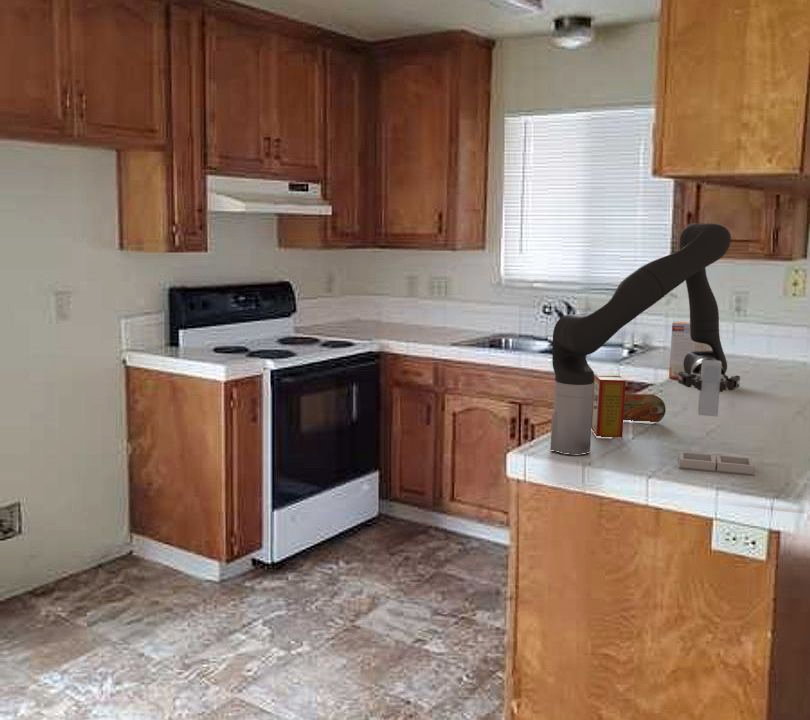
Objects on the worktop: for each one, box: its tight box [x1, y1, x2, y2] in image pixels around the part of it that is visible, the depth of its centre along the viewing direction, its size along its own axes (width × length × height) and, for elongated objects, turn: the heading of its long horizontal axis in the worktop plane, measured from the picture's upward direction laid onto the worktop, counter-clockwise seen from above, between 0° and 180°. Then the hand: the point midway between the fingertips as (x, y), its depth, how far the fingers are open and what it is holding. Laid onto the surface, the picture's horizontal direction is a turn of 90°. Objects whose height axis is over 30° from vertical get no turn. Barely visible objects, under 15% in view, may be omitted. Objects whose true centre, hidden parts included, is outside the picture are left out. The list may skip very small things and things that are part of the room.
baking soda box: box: [591, 373, 627, 438], centre depth 229 cm, size 10×6×16 cm
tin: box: [623, 392, 667, 423], centre depth 246 cm, size 15×3×8 cm, turn 81°
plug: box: [697, 360, 722, 417], centre depth 195 cm, size 4×5×12 cm
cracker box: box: [668, 321, 712, 380], centre depth 320 cm, size 14×6×21 cm, turn 59°
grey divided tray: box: [677, 451, 756, 477], centre depth 197 cm, size 16×11×3 cm
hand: (710, 386), depth 193 cm, fingers closed on plug, 4 cm apart
